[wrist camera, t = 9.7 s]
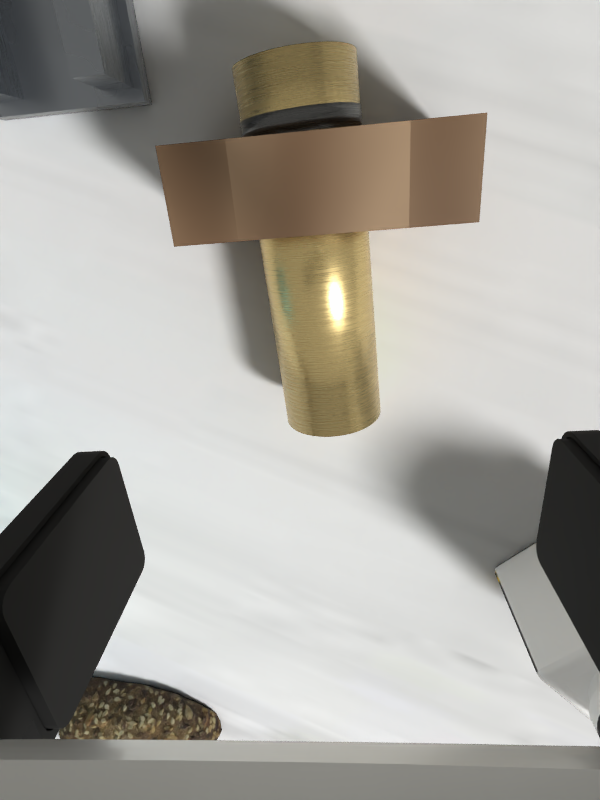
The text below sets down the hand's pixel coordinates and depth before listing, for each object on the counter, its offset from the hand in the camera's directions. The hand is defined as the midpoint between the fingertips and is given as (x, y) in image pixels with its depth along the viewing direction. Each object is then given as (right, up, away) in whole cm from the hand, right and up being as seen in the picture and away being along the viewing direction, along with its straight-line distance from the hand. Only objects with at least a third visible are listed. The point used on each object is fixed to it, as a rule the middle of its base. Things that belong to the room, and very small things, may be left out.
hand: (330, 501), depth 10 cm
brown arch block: (0, +11, +10) cm, 15 cm away
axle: (+1, +9, +11) cm, 14 cm away
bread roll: (-14, -24, +29) cm, 40 cm away
